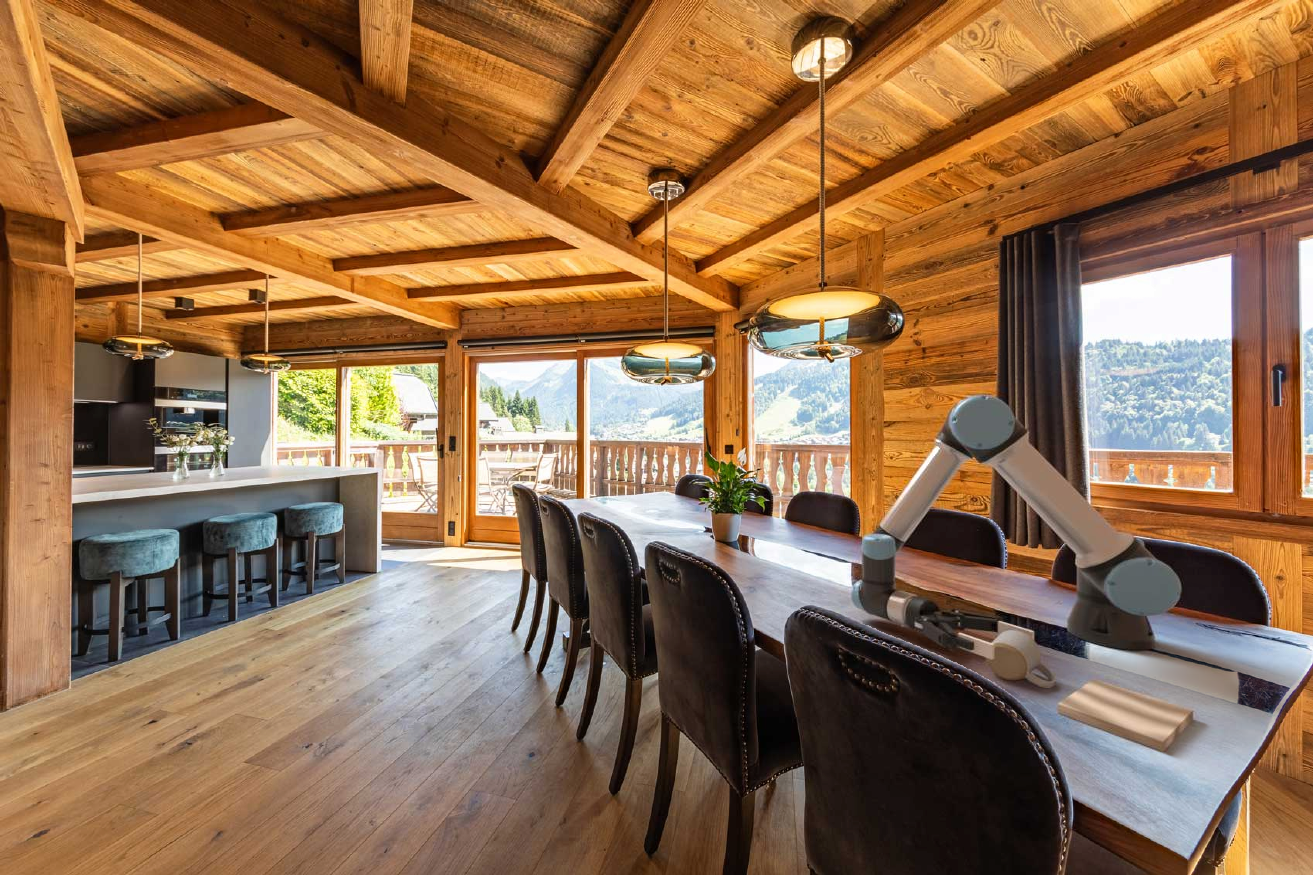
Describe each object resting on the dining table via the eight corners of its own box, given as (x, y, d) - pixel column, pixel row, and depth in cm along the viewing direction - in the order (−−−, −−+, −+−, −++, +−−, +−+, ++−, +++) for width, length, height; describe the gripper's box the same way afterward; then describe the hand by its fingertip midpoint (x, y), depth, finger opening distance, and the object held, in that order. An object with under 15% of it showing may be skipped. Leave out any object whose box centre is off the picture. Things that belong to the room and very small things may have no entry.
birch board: (1093, 687, 97) (1093, 678, 97) (1193, 719, 86) (1193, 710, 86) (1057, 712, 88) (1057, 703, 88) (1162, 752, 77) (1163, 741, 77)
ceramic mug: (982, 674, 102) (983, 635, 102) (996, 662, 107) (997, 624, 107) (1049, 696, 94) (1050, 653, 94) (1060, 681, 99) (1062, 641, 99)
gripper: (948, 619, 126) (1048, 651, 107) (876, 638, 114) (975, 678, 96) (948, 587, 126) (1048, 614, 107) (876, 603, 114) (975, 637, 95)
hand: (1014, 645), depth 101 cm, fingers open, 13 cm apart
